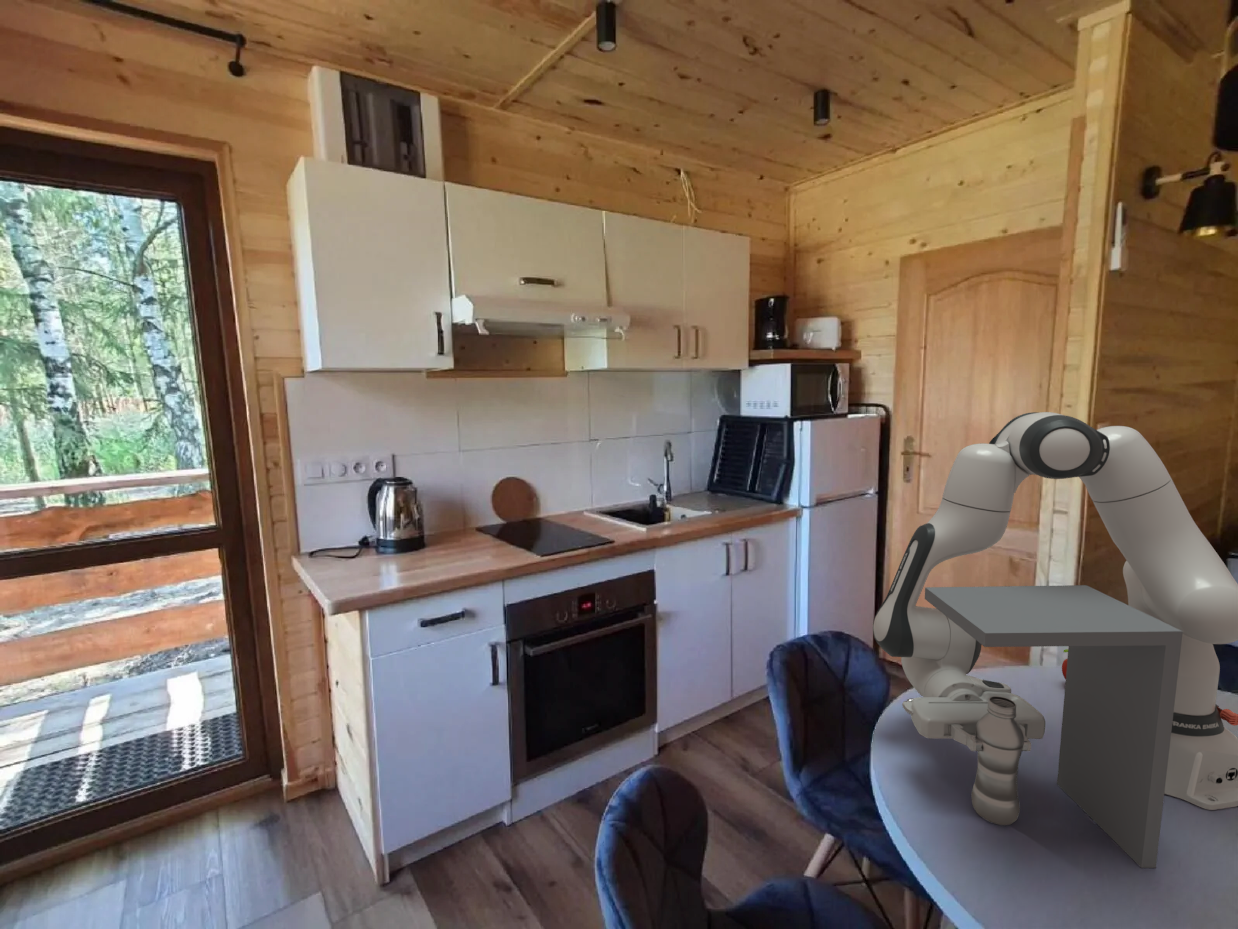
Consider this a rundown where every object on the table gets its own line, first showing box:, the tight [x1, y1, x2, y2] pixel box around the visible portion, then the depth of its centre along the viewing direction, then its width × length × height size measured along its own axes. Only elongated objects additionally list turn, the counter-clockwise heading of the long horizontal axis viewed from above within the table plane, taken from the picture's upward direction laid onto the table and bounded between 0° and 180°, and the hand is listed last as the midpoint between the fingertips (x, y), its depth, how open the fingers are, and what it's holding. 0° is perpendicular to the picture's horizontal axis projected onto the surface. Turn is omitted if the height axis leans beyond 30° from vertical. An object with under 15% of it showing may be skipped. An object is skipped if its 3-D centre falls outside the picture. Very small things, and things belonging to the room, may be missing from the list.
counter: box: [924, 584, 1183, 869], centre depth 94 cm, size 26×18×36 cm
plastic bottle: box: [970, 696, 1024, 826], centre depth 96 cm, size 6×7×20 cm
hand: (1002, 747), depth 95 cm, fingers closed on plastic bottle, 6 cm apart
